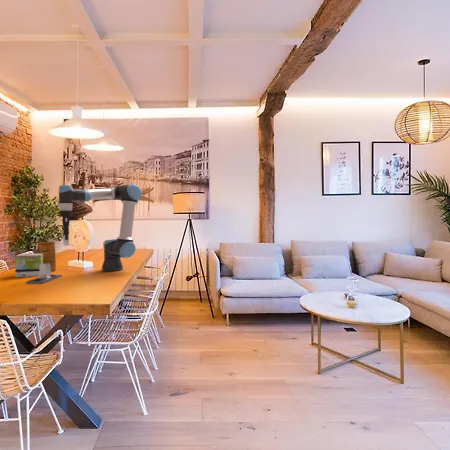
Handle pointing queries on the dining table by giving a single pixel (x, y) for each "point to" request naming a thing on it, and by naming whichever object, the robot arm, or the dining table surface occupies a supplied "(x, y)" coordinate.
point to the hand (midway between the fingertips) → (66, 244)
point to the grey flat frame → (43, 280)
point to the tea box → (28, 265)
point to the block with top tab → (45, 271)
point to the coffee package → (48, 253)
